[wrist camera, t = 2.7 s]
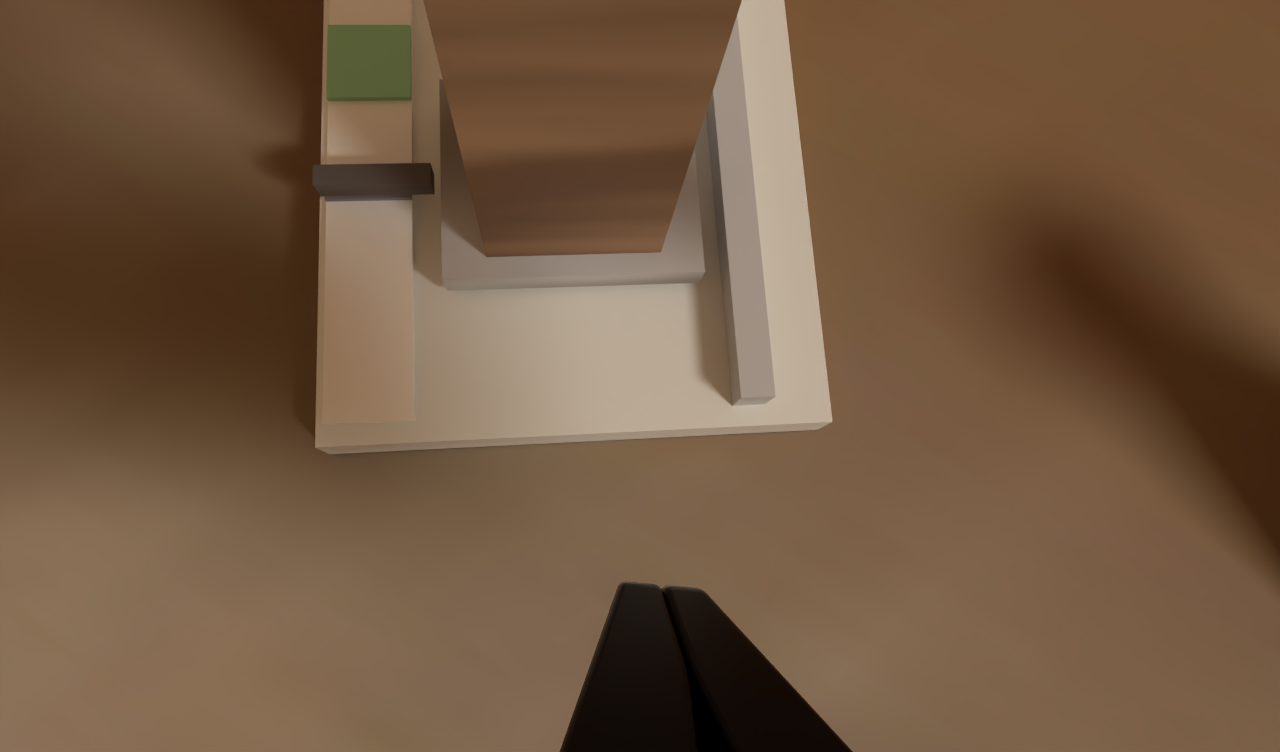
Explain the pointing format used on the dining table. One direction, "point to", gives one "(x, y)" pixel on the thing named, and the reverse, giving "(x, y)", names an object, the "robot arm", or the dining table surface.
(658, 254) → the gauge slider
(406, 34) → the gauge board
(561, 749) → the robot arm
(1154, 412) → the dining table surface
